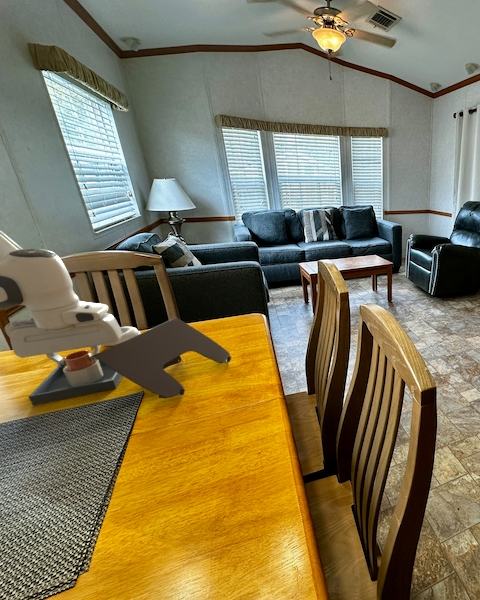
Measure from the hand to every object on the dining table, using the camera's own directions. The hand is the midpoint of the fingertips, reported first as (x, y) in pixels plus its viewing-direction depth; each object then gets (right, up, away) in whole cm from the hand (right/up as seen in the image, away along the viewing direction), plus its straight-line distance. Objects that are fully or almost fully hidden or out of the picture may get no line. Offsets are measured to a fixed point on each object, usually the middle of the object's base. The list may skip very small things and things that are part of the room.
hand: (80, 362), depth 85 cm
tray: (0, -5, +2) cm, 6 cm away
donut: (-9, +3, +23) cm, 25 cm away
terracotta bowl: (0, -1, +1) cm, 2 cm away
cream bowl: (0, -5, +2) cm, 5 cm away
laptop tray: (+22, -4, +5) cm, 23 cm away
